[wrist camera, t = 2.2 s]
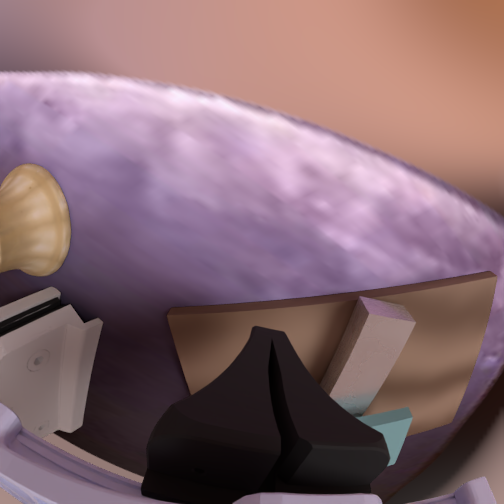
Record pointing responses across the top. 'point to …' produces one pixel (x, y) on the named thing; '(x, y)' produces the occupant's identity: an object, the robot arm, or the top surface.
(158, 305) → the top surface
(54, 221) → the hand bell
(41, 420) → the hinge
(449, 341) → the base plate
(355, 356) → the link
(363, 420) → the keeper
